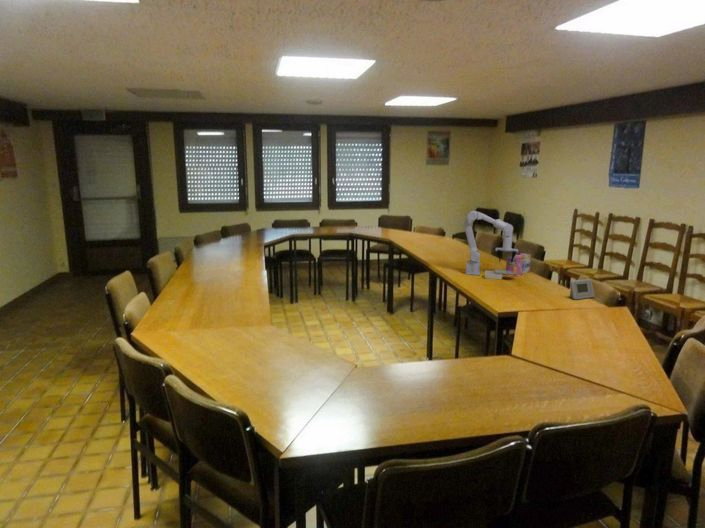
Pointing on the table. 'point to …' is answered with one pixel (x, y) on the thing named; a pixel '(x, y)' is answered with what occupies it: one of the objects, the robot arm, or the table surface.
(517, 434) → the table surface
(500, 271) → the lid
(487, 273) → the tub
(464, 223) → the robot arm
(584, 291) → the digital clock
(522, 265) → the gum box
